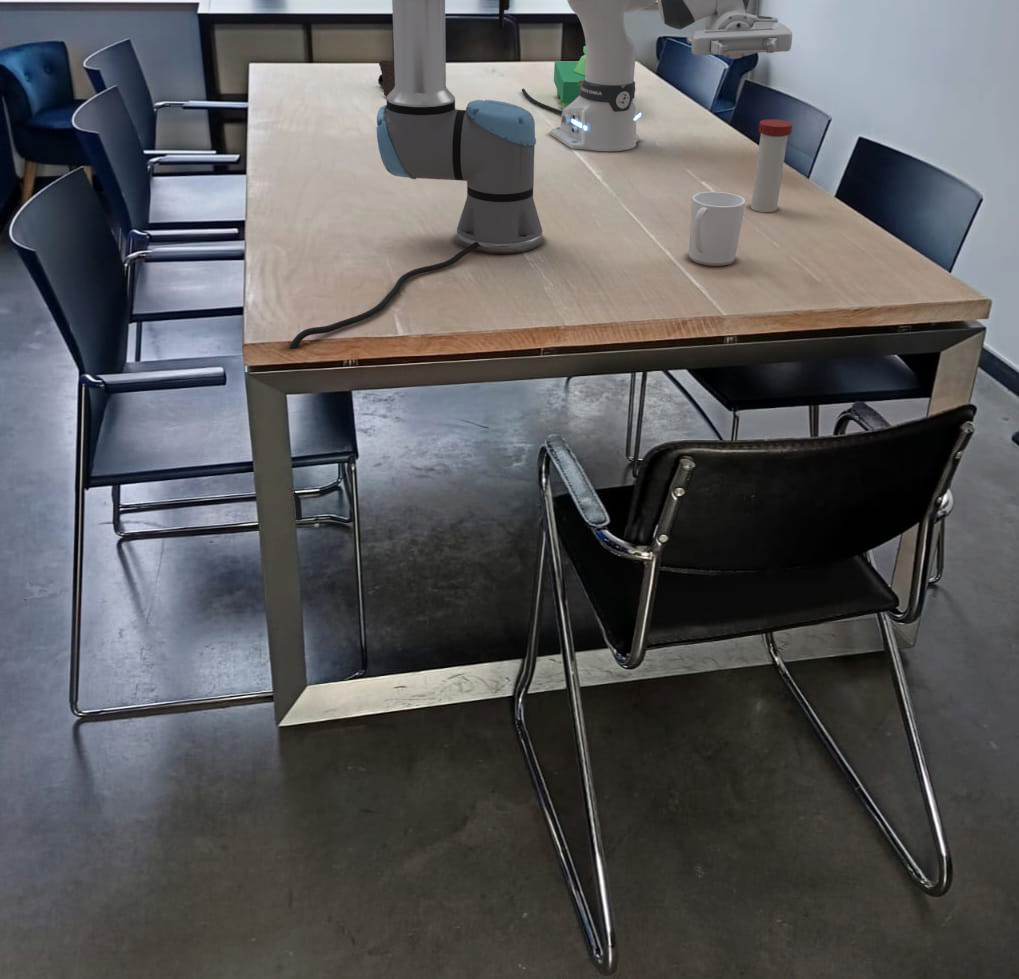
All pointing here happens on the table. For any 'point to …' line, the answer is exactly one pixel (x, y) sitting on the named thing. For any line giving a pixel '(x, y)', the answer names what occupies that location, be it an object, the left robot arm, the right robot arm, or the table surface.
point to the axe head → (387, 76)
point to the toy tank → (569, 79)
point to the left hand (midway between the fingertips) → (468, 26)
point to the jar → (768, 173)
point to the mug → (715, 227)
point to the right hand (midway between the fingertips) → (747, 49)
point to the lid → (775, 127)
